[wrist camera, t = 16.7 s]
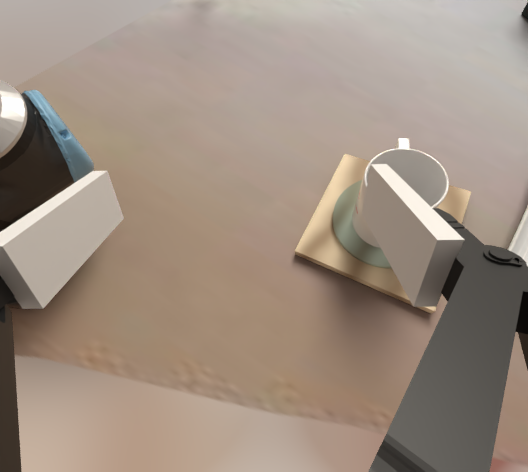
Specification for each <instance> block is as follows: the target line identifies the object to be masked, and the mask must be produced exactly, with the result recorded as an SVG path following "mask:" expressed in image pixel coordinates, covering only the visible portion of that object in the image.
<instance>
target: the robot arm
mask: <svg viewBox="0 0 528 472" xmlns="http://www.w3.org/2000/svg"><path fill="white" fill-rule="evenodd" d="M93 170H94V164H93V162H92V160H91V159H90V157H89V156H88V154H87V153H86V151H85V150H84V149H83V147H82V146H81V145H80V143H79V142H78V141H77V139H76V138H75V137H74V135H73V134H72V133H71V131H70V130H69V129H68V127H67V126H66V125H65V123H64V122H63V121H62V119H61V118H60V117H59V115H58V114H57V113H56V112H55V110H54V109H53V108H52V106H51V105H50V104H49V103H48V101H47V100H46V99H45V97H44V96H43V95H42V94H41V93H40V92H39V91H37V90H31V91H24V92H23V93H22V94H21V93H20V92H18V91H17V90H16V89H15V88H14V87H13V86H11V85H10V84H8V83H6V82H5V81H2V80H0V472H21V459H20V441H19V425H18V408H17V393H16V375H15V359H14V342H13V326H12V312H11V310H10V309H9V307H12V308H22V309H43V308H44V307H45V306H46V305H47V304H48V303H49V302H50V301H51V299H52V298H53V297H54V296H55V295H56V294H57V293H58V292H59V291H60V289H61V288H62V287H63V286H64V285H65V284H66V283H67V282H68V280H69V279H70V278H71V277H72V276H73V275H74V274H75V273H76V271H77V270H78V269H79V268H80V267H81V266H82V265H83V264H84V262H85V261H86V260H87V259H88V258H89V257H90V256H91V255H92V254H93V252H94V251H95V250H96V249H97V248H98V247H99V246H100V245H101V243H102V242H103V241H104V240H105V239H106V238H107V237H108V236H109V234H110V233H111V232H112V231H113V230H114V229H115V228H116V227H117V226H118V224H119V223H120V222H121V221H122V220H123V219H124V217H123V215H122V212H121V209H120V206H119V203H118V200H117V197H116V194H115V191H114V189H113V186H112V183H111V180H110V177H109V174H108V171H93ZM362 215H363V217H364V219H365V221H366V222H367V224H368V226H369V228H370V230H371V231H372V233H373V235H374V237H375V238H376V240H377V242H378V244H379V246H380V247H381V249H382V251H383V253H384V255H385V256H386V258H387V260H388V262H389V264H390V265H391V267H392V269H393V271H394V273H395V274H396V276H397V278H398V280H399V282H400V283H401V285H402V287H403V289H404V291H405V292H406V294H407V296H408V298H409V300H410V301H411V303H412V305H413V307H436V306H437V304H438V301H439V299H440V296H441V294H443V296H444V297H445V298H446V300H447V301H448V303H447V305H446V307H445V309H444V311H443V313H442V316H441V318H440V320H439V322H438V324H437V326H436V329H435V331H434V333H433V335H432V337H431V339H430V341H429V344H428V346H427V348H426V350H425V352H424V354H423V356H422V359H421V361H420V363H419V365H418V367H417V369H416V372H415V374H414V376H413V378H412V380H411V382H410V384H409V387H408V389H407V391H406V393H405V395H404V397H403V400H402V402H401V404H400V406H399V408H398V410H397V412H396V415H395V417H394V419H393V421H392V423H391V425H390V427H389V430H388V432H387V434H386V436H385V438H384V440H383V442H382V445H381V446H380V448H379V450H378V452H377V455H376V457H375V459H374V461H373V463H372V465H371V467H370V469H369V472H489V471H490V466H491V460H492V455H493V450H494V444H495V439H496V433H497V428H498V423H499V417H500V412H501V407H502V401H503V396H504V390H505V385H506V380H507V374H508V369H509V363H510V358H511V353H512V347H513V342H514V336H515V332H518V334H519V338H520V342H521V346H522V350H523V354H524V358H525V361H526V365H527V369H528V266H527V264H526V262H525V261H524V260H523V259H522V258H521V257H520V256H519V255H517V254H515V253H513V252H512V251H509V250H506V249H504V248H501V247H496V246H491V245H484V244H483V243H481V242H480V241H479V240H478V239H477V238H476V237H475V236H474V235H473V234H472V233H470V232H469V231H468V230H467V229H465V227H464V226H463V225H462V224H461V223H458V221H457V220H456V219H455V218H454V217H453V216H452V215H451V214H449V213H447V212H445V211H443V210H441V209H439V208H431V207H430V206H429V205H428V204H427V203H426V202H425V201H424V200H423V199H422V198H421V197H420V196H419V195H418V194H417V193H416V192H415V191H414V190H413V189H412V188H411V187H410V186H409V185H408V184H407V183H406V182H405V181H404V180H403V179H402V178H401V177H400V176H399V175H398V174H396V173H395V172H394V171H393V170H392V169H391V168H390V167H389V166H388V165H387V164H371V166H370V171H369V177H368V183H367V188H366V194H365V200H364V205H363V211H362Z"/></svg>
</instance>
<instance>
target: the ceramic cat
mask: <svg viewBox="0 0 528 472" xmlns="http://www.w3.org/2000/svg"><path fill="white" fill-rule="evenodd" d="M522 15H523V16H524V17H525V18H526V19H528V3H527V5H526V7H525V8H524V10H523V12H522Z"/></svg>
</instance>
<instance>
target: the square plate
mask: <svg viewBox="0 0 528 472" xmlns="http://www.w3.org/2000/svg"><path fill="white" fill-rule="evenodd" d="M508 250H509V251H512V252H513V253H515V254H517V255H519V256H520V257H521V258H522V259H523V260H524V261H525V262H526V264H527V266H528V206H527V208H526V211H525V213H524V215H523V218H522V220H521V222H520V224H519V227H518V229H517V231H516V233H515V235H514V237H513V239H512V241H511V244H510V246H509V248H508Z"/></svg>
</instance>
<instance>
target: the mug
mask: <svg viewBox="0 0 528 472" xmlns="http://www.w3.org/2000/svg"><path fill="white" fill-rule="evenodd" d="M371 164H387V165H388V166H389V167H390V168H391V169H392V170H393V171H394V172H395V173H396V174H398V175H399V176H400V177H401V178H402V179H403V180H404V181H405V182H406V183H407V184H408V185H409V186H410V187H411V188H412V189H413V190H414V191H415V192H416V193H417V194H418V195H419V196H420V197H421V198H422V199H423V200H424V201H425V202H426V203H427V204H428V205H429V206H430V207H431V208H437V207H438V206H439V205H440V203H441V202H442V201H443V200H444V198H445V197H446V195H447V192H448V188H449V180H448V176H447V173H446V171H445V169H444V168H443V167H442V165H441V164H440V163H439V162H438V161H437V160H436V159H434V158H433V157H431V156H430V155H428V154H426V153H424V152H421V151H418V150H414V149H409V139H404V138H398V141H397V144H396V146H395V149H391V150H387V151H384V152H382V153H380V154H378V155H377V156H375V157H374V158H373V159H372V160H371V161H370V162H369V164H368V165H367V167H366V170H365V173H364V176H363V179H362V183H361V186H360V190H359V193H358V196H357V200H356V203H355V206H354V210H353V213H352V224H353V227H354V229H355V231H356V233H357V234H358V236H359V237H360V238H361V239H362V240H363V241H365V242H366V243H368V244H370V245H372V246H374V247H377V248H381V247H380V246H379V244H378V242H377V240H376V238H375V237H374V235H373V233H372V231H371V230H370V228H369V226H368V224H367V222H366V221H365V219H364V217H363V215H362V211H363V205H364V200H365V194H366V188H367V183H368V177H369V171H370V166H371Z"/></svg>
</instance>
